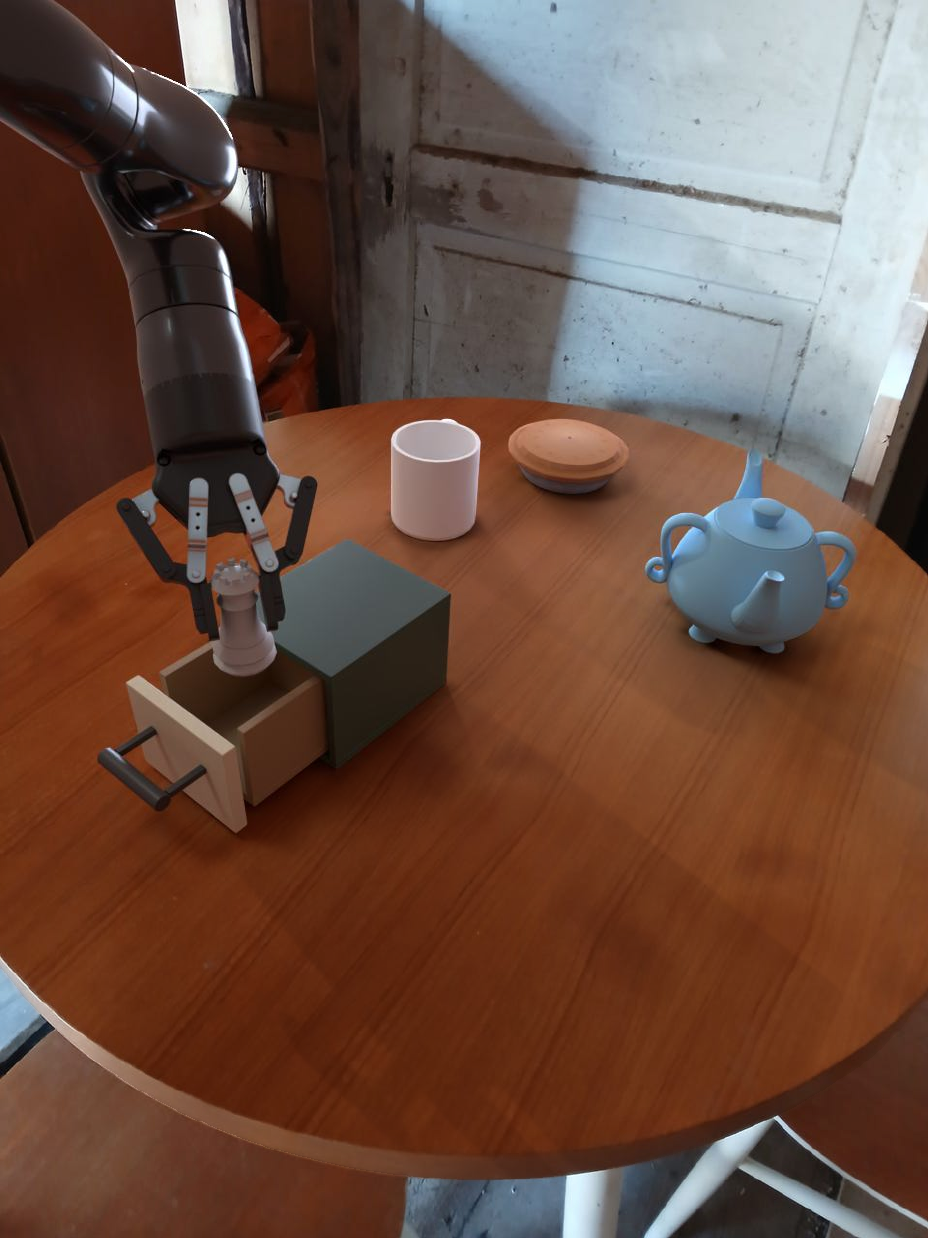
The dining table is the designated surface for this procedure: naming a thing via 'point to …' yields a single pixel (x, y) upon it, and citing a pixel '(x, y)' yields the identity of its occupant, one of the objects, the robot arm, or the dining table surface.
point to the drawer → (222, 733)
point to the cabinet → (364, 640)
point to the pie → (567, 455)
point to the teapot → (751, 569)
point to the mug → (434, 479)
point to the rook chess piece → (240, 621)
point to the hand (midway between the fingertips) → (244, 633)
